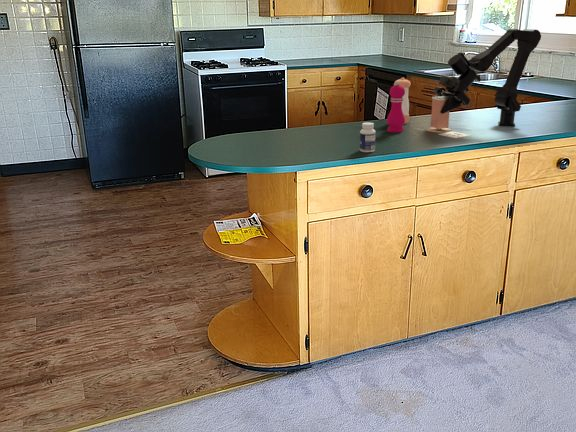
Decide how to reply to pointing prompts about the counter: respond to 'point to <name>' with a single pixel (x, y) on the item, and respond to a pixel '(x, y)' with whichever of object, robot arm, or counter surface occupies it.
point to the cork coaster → (439, 130)
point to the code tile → (454, 134)
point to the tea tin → (439, 112)
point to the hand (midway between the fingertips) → (437, 112)
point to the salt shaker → (405, 98)
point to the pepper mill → (396, 109)
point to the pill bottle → (367, 137)
